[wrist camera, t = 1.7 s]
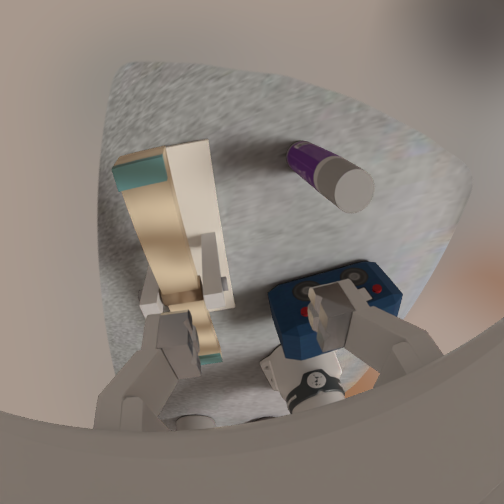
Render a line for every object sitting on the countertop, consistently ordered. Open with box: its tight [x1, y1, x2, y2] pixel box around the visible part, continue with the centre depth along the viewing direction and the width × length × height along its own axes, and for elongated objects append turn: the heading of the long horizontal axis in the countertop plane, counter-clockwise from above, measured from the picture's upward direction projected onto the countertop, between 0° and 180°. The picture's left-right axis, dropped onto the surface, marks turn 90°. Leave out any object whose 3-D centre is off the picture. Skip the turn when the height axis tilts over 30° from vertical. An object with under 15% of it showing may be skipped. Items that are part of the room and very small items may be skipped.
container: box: [286, 141, 374, 213], centre depth 30 cm, size 5×5×15 cm
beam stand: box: [138, 139, 235, 319], centre depth 34 cm, size 28×11×15 cm, turn 5°
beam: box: [112, 146, 223, 365], centre depth 30 cm, size 32×4×3 cm, turn 5°
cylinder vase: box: [176, 415, 216, 431], centre depth 62 cm, size 12×12×25 cm
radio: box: [268, 262, 403, 361], centre depth 41 cm, size 21×9×20 cm, turn 100°
